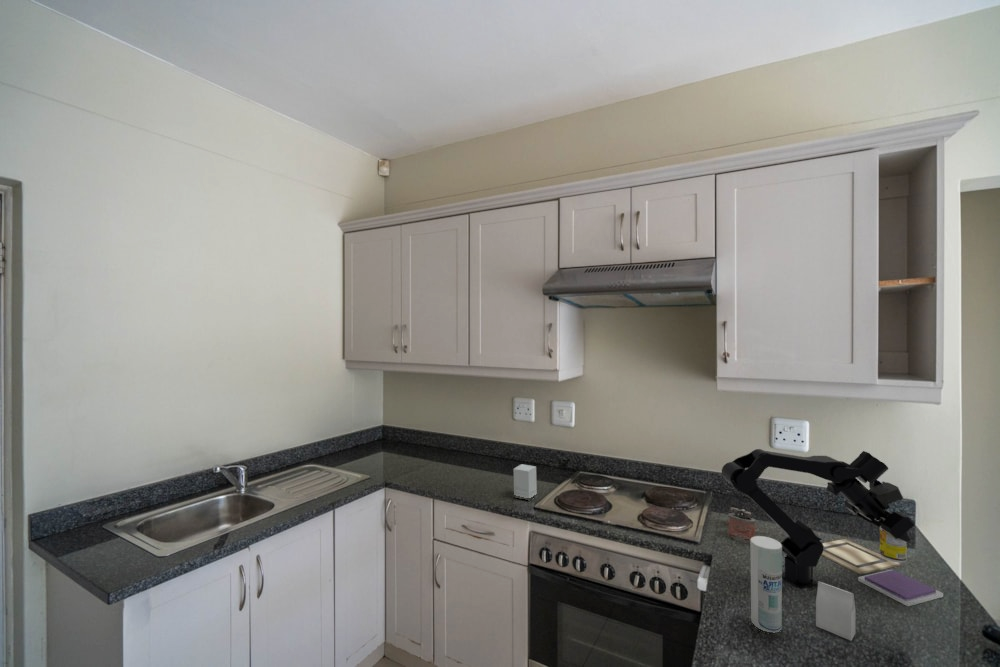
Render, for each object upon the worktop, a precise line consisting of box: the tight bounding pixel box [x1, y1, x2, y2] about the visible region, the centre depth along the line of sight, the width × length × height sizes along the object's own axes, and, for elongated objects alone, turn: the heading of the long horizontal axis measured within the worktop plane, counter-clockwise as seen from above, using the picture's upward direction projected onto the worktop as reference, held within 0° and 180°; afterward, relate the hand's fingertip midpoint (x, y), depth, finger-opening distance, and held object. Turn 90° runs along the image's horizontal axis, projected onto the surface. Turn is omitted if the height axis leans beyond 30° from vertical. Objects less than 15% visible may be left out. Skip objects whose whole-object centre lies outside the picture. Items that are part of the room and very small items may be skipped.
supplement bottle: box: [879, 520, 908, 564], centre depth 123 cm, size 6×6×10 cm
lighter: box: [728, 507, 756, 544], centre depth 150 cm, size 8×3×10 cm, turn 47°
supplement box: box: [512, 463, 538, 498], centre depth 189 cm, size 7×7×13 cm
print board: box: [821, 538, 901, 576], centre depth 138 cm, size 16×16×1 cm
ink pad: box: [857, 568, 944, 607], centre depth 121 cm, size 13×12×2 cm
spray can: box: [749, 535, 783, 633], centre depth 107 cm, size 6×6×20 cm
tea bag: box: [815, 581, 856, 642], centre depth 106 cm, size 4×7×10 cm, turn 40°
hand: (899, 535), depth 123 cm, fingers closed on supplement bottle, 5 cm apart
